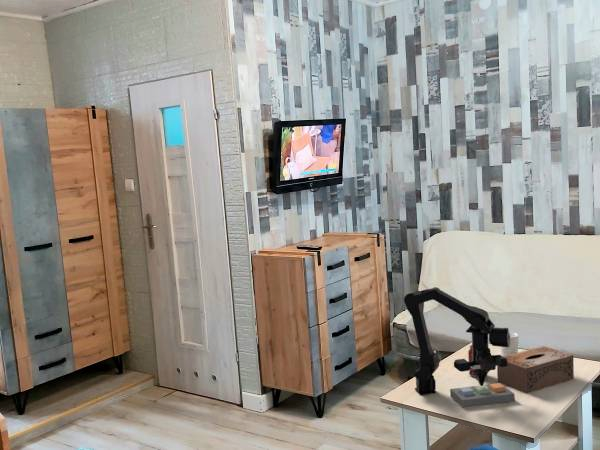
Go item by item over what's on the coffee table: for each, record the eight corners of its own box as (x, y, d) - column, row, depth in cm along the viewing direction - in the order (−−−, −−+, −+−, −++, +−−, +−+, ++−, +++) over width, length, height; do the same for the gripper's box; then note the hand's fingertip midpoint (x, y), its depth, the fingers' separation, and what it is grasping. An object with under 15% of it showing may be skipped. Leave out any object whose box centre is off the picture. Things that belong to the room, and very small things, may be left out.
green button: (479, 397, 221) (478, 389, 221) (474, 393, 225) (474, 386, 225) (489, 396, 222) (489, 388, 222) (484, 392, 226) (484, 384, 225)
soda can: (486, 378, 244) (486, 349, 242) (469, 378, 245) (468, 349, 244) (485, 372, 250) (484, 344, 249) (468, 372, 252) (467, 344, 250)
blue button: (463, 399, 220) (463, 391, 220) (459, 395, 224) (458, 387, 224) (473, 398, 221) (473, 390, 221) (469, 394, 225) (469, 386, 225)
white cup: (501, 359, 264) (501, 337, 263) (498, 353, 272) (498, 332, 271) (520, 359, 263) (520, 337, 262) (517, 353, 271) (516, 332, 270)
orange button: (494, 395, 222) (494, 388, 222) (489, 391, 226) (489, 384, 226) (504, 394, 223) (504, 386, 222) (499, 390, 227) (499, 383, 226)
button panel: (462, 408, 217) (462, 400, 216) (450, 396, 228) (450, 388, 227) (514, 401, 220) (514, 393, 219) (500, 390, 231) (499, 383, 230)
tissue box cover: (526, 394, 226) (525, 368, 225) (497, 382, 239) (496, 358, 238) (573, 379, 238) (573, 355, 237) (544, 369, 251) (543, 346, 250)
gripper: (465, 353, 212) (466, 396, 214) (515, 348, 215) (515, 390, 217) (452, 344, 223) (453, 385, 225) (500, 339, 226) (500, 379, 228)
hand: (481, 385), depth 223 cm, fingers closed
